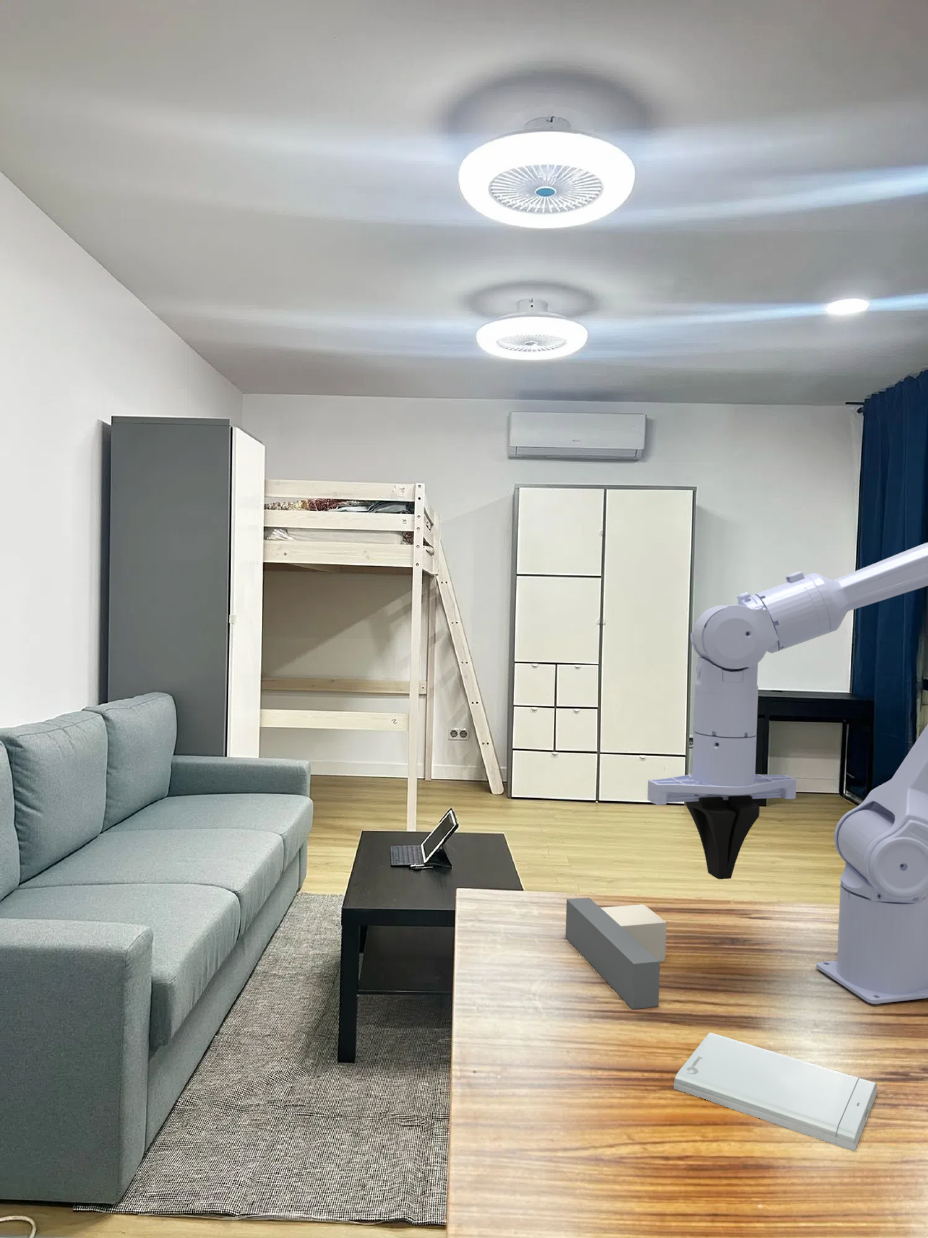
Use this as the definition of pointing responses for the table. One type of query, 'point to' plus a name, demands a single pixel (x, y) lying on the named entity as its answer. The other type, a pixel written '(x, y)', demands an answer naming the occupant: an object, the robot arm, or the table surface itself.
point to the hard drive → (779, 1089)
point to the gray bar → (613, 953)
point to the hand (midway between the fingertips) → (719, 875)
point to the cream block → (642, 927)
